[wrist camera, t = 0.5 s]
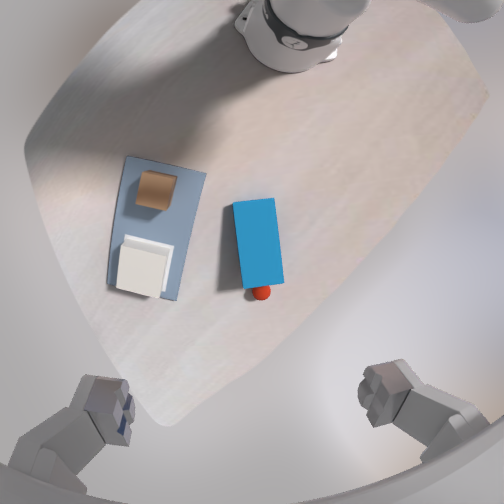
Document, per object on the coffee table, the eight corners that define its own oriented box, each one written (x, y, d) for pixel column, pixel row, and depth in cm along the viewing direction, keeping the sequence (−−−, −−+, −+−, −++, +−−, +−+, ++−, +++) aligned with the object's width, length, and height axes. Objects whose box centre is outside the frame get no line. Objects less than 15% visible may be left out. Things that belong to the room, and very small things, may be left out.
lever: (231, 206, 54) (243, 300, 55) (232, 202, 47) (246, 310, 48) (267, 202, 54) (278, 295, 56) (274, 197, 47) (286, 304, 49)
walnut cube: (149, 169, 44) (142, 171, 40) (177, 176, 45) (173, 178, 41) (142, 198, 46) (135, 203, 41) (170, 205, 47) (165, 211, 42)
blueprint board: (128, 156, 44) (126, 156, 43) (206, 173, 47) (206, 173, 46) (108, 281, 51) (107, 283, 50) (176, 298, 54) (176, 301, 53)
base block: (127, 238, 48) (120, 245, 44) (170, 248, 49) (166, 256, 45) (122, 278, 50) (116, 287, 46) (162, 288, 52) (159, 298, 48)
